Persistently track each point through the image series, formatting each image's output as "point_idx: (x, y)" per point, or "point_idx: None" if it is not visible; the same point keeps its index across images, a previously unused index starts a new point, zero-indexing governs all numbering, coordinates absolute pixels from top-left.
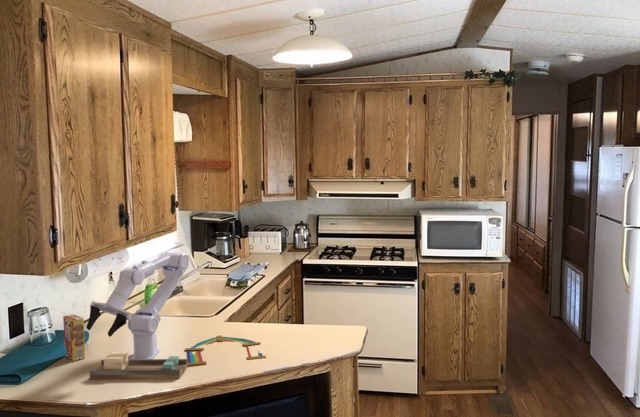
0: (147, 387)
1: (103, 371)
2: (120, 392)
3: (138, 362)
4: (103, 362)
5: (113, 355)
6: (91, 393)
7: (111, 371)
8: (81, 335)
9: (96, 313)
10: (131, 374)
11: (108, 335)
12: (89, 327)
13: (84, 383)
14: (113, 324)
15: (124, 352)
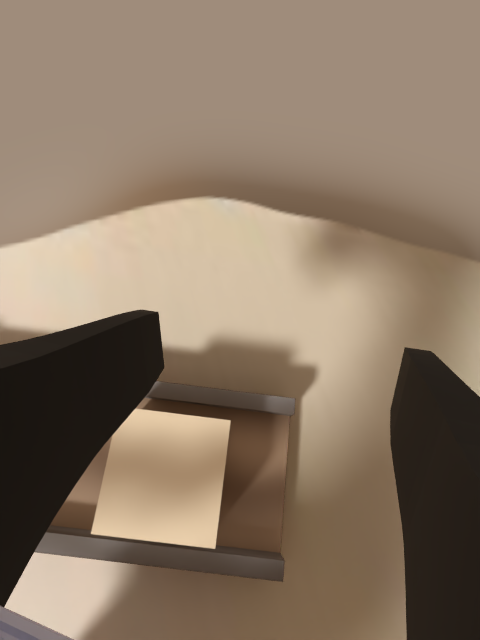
0: (17, 280)
1: (223, 390)
2: (121, 251)
3: (56, 529)
4: (268, 555)
5: (181, 476)
6: (232, 258)
7: (182, 384)
8: None
9: (457, 587)
10: None
11: (161, 349)
12: (399, 389)
13: (296, 360)
14: (62, 340)
15: (116, 533)
